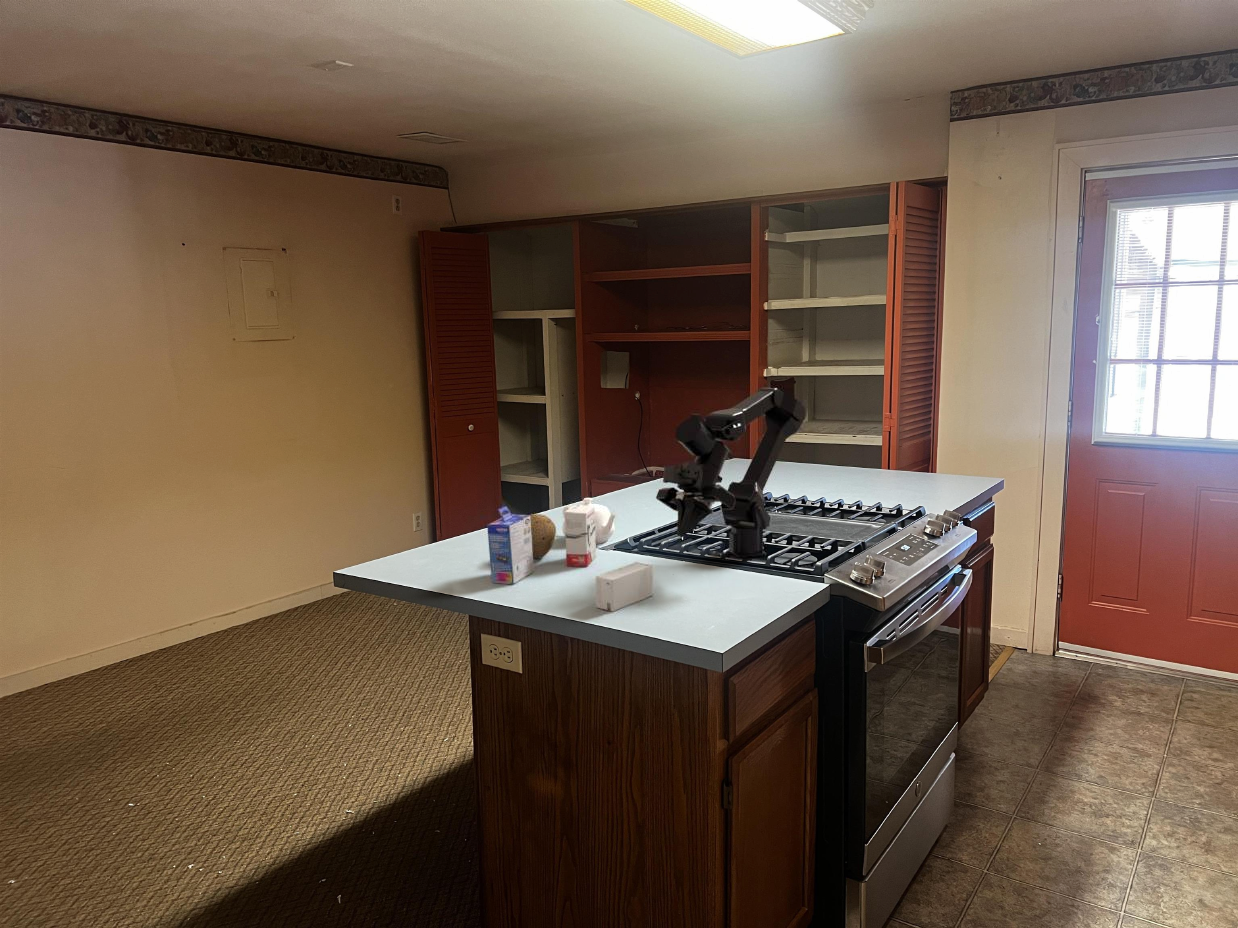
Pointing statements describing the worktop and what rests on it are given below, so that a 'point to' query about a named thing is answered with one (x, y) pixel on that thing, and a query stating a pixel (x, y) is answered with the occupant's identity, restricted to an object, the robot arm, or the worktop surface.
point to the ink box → (580, 535)
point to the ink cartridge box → (510, 547)
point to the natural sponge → (542, 534)
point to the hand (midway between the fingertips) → (679, 536)
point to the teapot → (599, 521)
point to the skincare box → (624, 586)
